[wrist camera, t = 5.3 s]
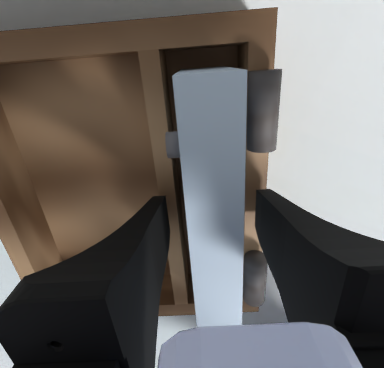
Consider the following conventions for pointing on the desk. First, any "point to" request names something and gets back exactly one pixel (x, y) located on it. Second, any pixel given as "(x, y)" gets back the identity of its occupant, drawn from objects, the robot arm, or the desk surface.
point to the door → (213, 185)
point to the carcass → (122, 135)
